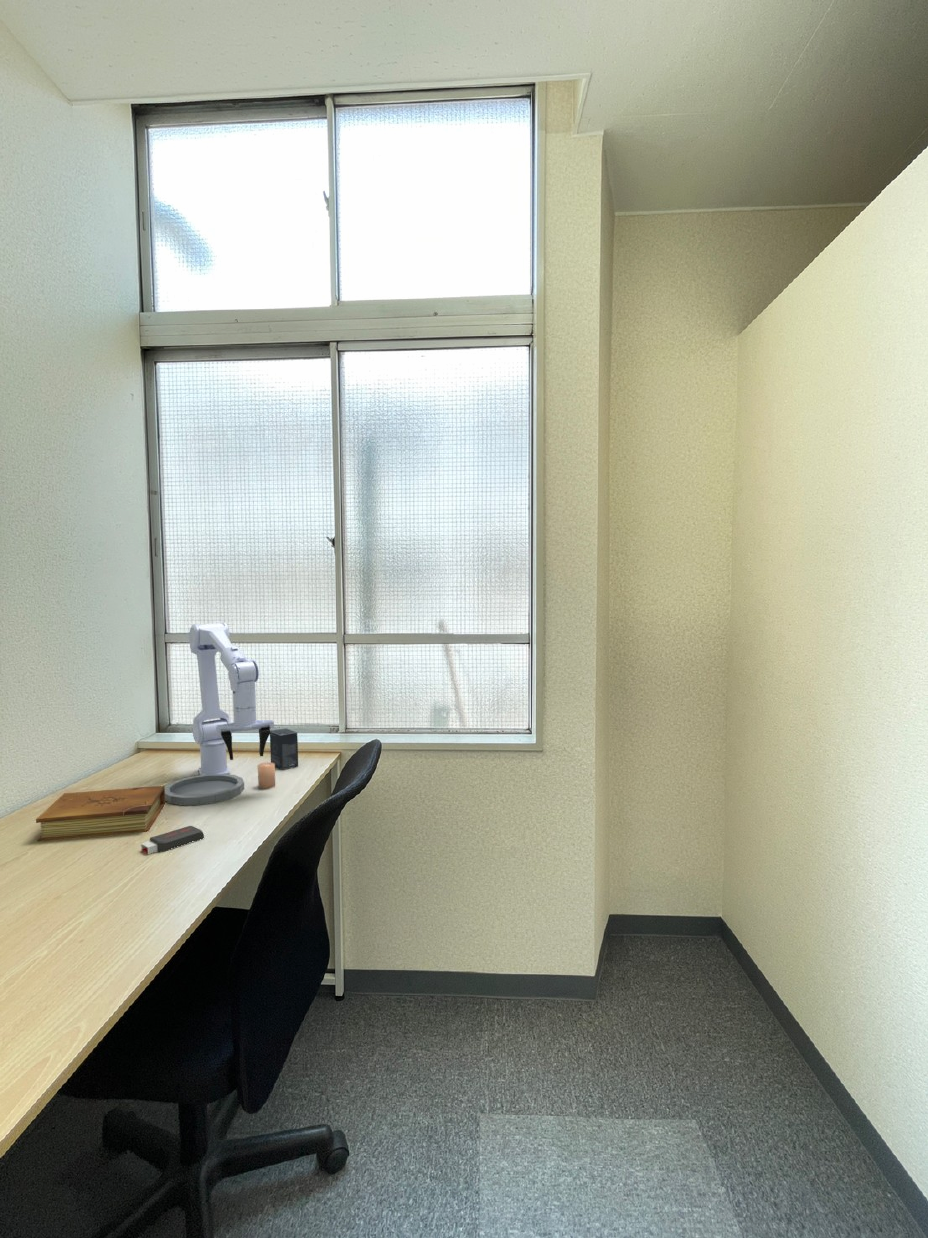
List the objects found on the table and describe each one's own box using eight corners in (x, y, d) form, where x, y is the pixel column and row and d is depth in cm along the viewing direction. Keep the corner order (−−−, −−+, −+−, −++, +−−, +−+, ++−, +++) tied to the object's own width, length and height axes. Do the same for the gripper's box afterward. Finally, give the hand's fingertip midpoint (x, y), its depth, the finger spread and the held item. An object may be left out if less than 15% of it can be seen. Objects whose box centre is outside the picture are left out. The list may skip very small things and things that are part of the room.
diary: (165, 806, 176) (164, 784, 176) (148, 834, 158) (147, 809, 157) (66, 814, 171) (65, 791, 171) (37, 843, 153) (35, 818, 152)
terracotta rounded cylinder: (257, 784, 191) (256, 763, 190) (273, 782, 193) (273, 761, 192) (259, 789, 187) (258, 767, 186) (276, 787, 189) (275, 765, 188)
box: (298, 766, 208) (297, 732, 207) (281, 770, 205) (280, 735, 204) (287, 761, 214) (286, 727, 213) (270, 764, 211) (269, 730, 210)
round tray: (163, 787, 190) (162, 780, 190) (238, 777, 198) (238, 770, 198) (164, 810, 172) (164, 802, 172) (248, 797, 180) (247, 790, 180)
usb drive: (204, 840, 153) (203, 828, 153) (150, 857, 144) (149, 845, 144) (192, 834, 157) (192, 822, 156) (139, 851, 148) (138, 839, 147)
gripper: (216, 712, 176) (218, 764, 177) (275, 707, 182) (276, 757, 183) (214, 707, 182) (216, 757, 183) (271, 702, 188) (272, 751, 189)
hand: (246, 757), depth 183 cm, fingers open, 7 cm apart
